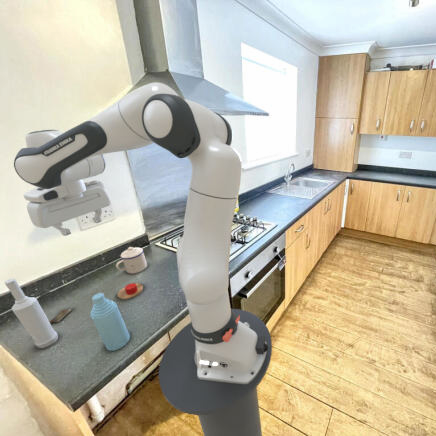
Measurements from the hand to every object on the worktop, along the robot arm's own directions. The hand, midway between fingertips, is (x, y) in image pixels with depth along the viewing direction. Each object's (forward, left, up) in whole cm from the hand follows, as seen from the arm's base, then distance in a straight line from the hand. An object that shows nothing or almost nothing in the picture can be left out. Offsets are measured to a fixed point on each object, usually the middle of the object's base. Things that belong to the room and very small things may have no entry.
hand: (83, 228), depth 76 cm
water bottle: (-15, +11, -34) cm, 39 cm away
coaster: (+2, -8, -34) cm, 35 cm away
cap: (+1, -8, -31) cm, 32 cm away
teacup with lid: (+14, -20, -34) cm, 42 cm away
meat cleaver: (+15, +12, -34) cm, 39 cm away
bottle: (+7, +18, -34) cm, 39 cm away
